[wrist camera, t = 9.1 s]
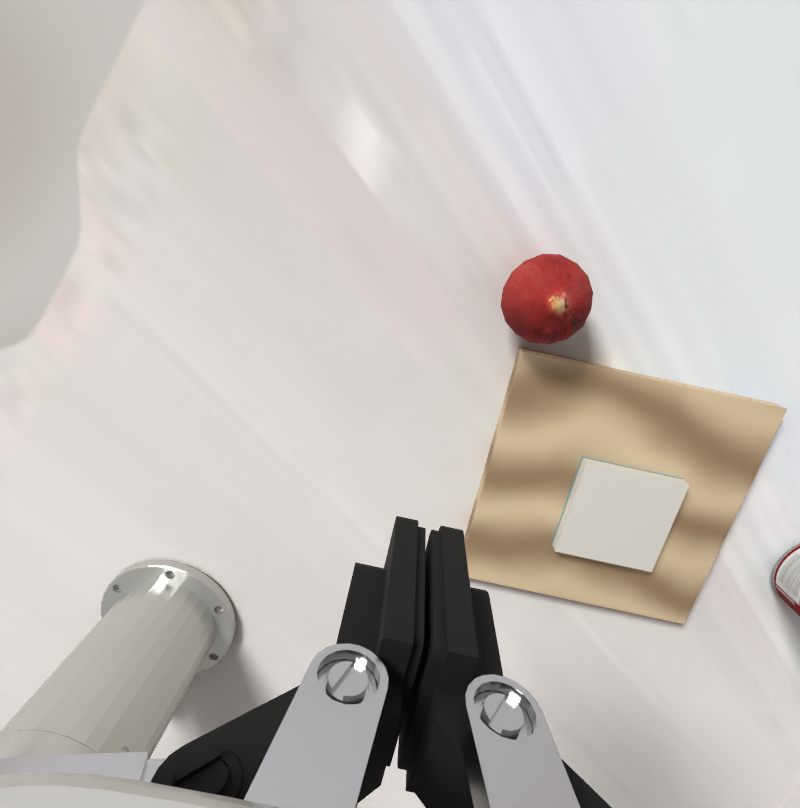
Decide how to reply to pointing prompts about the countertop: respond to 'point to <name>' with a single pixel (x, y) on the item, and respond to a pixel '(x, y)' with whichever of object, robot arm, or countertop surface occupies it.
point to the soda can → (789, 578)
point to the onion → (547, 299)
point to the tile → (618, 514)
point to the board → (621, 444)
